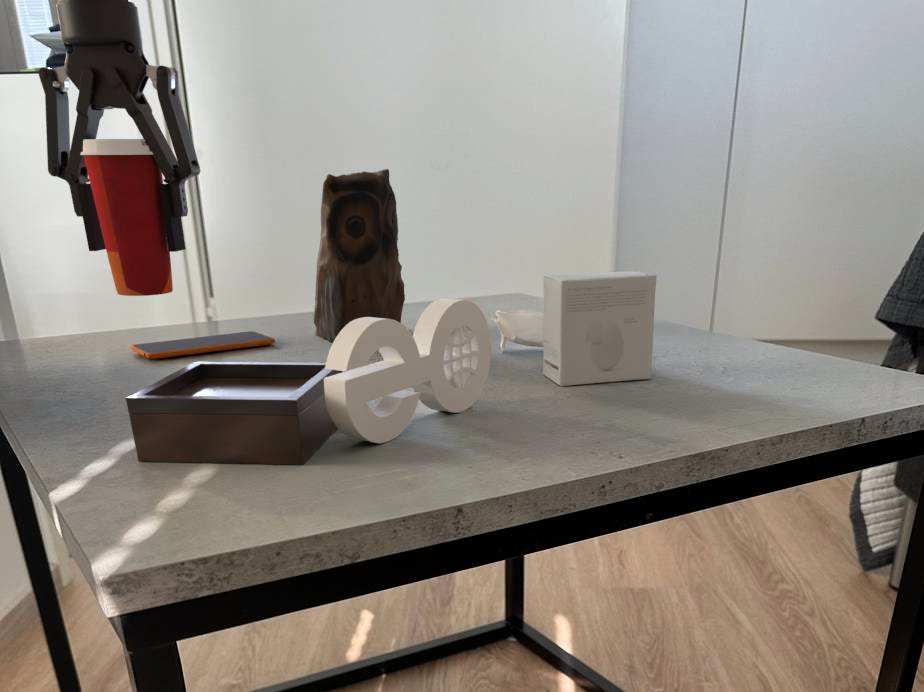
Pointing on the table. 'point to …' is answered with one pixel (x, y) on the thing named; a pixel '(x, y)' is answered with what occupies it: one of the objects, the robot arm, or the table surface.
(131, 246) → the coffee cup
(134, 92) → the robot arm
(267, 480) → the table surface
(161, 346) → the smartphone
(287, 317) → the table surface
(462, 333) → the letter
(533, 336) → the pale pink animal figure
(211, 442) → the dark brown tray
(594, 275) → the cosmetics box
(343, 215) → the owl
